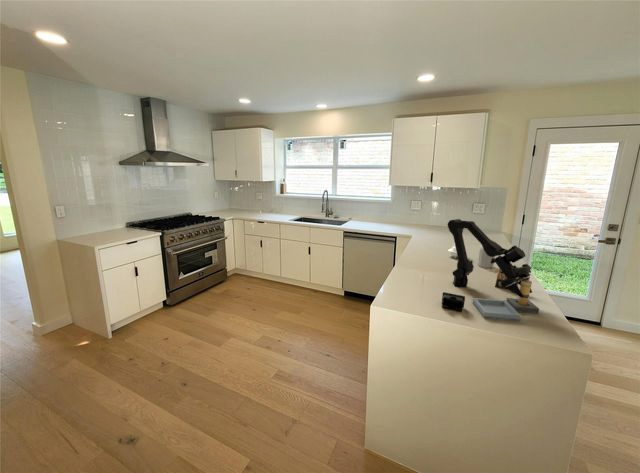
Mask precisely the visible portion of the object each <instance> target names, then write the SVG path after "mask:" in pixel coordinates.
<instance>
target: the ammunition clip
mask: <svg viewBox="0 0 640 473" xmlns="http://www.w3.org/2000/svg"><path fill="white" fill-rule="evenodd" d="M495 279H496V280H495V285H494V288H498V289H503V290H507V291H509V290H508V289H505V288H506V287H507V286H506V287H504V288H503V287H502V286H501V285H500V284H501V282H502V281H504V280H506V279H507V278H506V276H505V275H504V274H503V273H502V274H501V270H500V268H499V267H498V271H497V274H496V278H495ZM516 282H519V281H516Z"/></svg>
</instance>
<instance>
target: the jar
mask: <svg viewBox="0 0 640 473" xmlns="http://www.w3.org/2000/svg"><path fill="white" fill-rule="evenodd" d="M492 258H496V256H495V257H489V256H488V255H487V254H486V252H485V251H484V249H483V246H482V244H480V246H479V250H478V258H477V265H478V267H479V268H481V269H483V268H484V269H492V268H493V267H494V264H495V263H492V264H491V260H492Z"/></svg>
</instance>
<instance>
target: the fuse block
mask: <svg viewBox="0 0 640 473" xmlns="http://www.w3.org/2000/svg"><path fill="white" fill-rule="evenodd" d="M506 301H507V302H508V303H509V304H510V305H511V306H512V307H513V308H514V309H515V310H516V311H517V312H518V313H528V314H539V312H540V308H539V307H538V306H537V305H536V304H534V303H533V302H532V301H531V300H530V299H528V304H527V306H525V305H519V304H518V303H517V302H518V298H516V297H515V298H512V297H506Z"/></svg>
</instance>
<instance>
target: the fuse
mask: <svg viewBox="0 0 640 473" xmlns="http://www.w3.org/2000/svg"><path fill="white" fill-rule="evenodd" d="M532 285H533V282H532V281H531V280H530V279H529V280H521V286H520V285H519V289H520V291H521V292H522V294H523V296H524V297H522V298H521V297H520V296H517V299H518V302H517V303H518V304H519V305H525V306H527V304H528V300H530V299H529V298H530V294H531V293H530V288H531V289H532Z"/></svg>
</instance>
